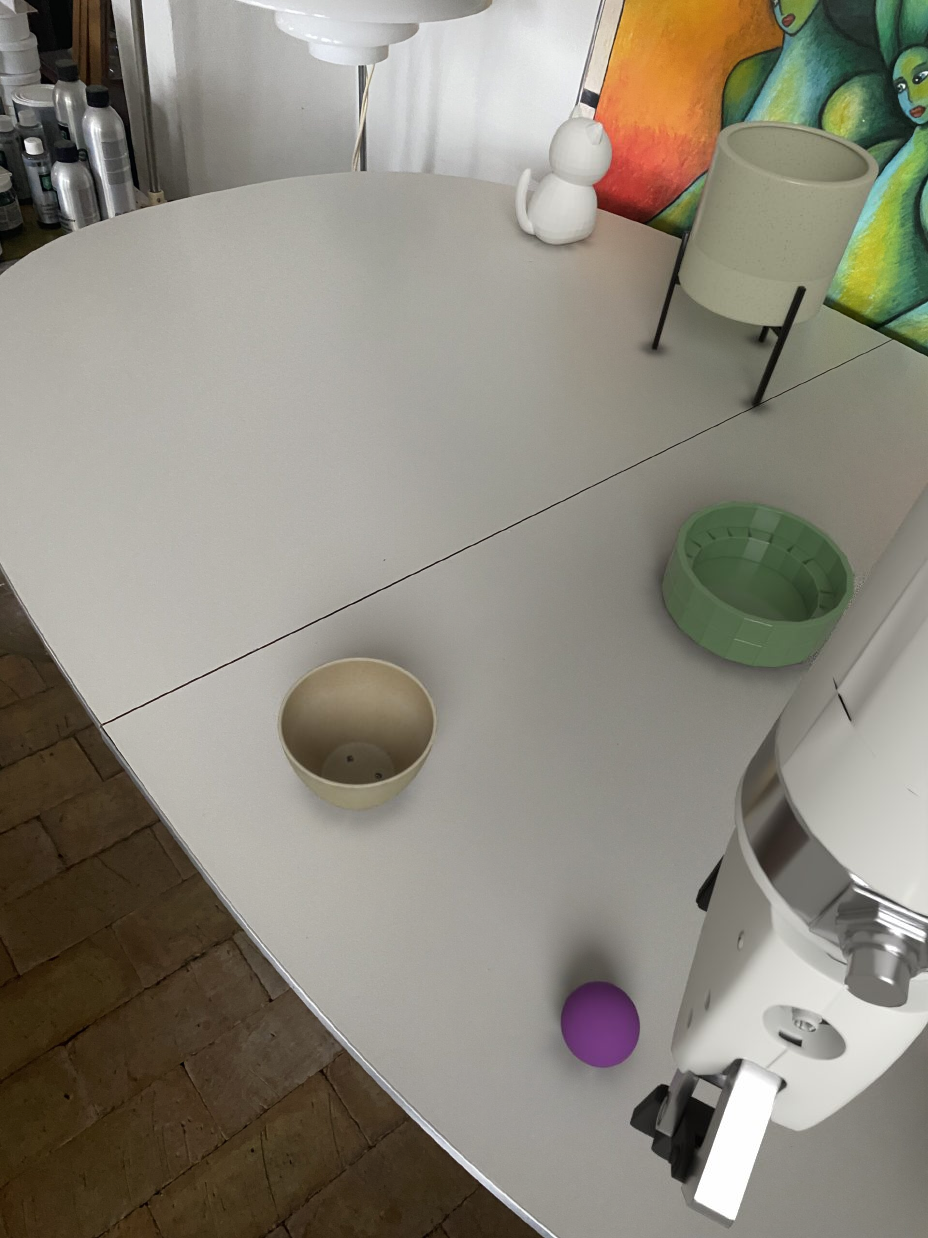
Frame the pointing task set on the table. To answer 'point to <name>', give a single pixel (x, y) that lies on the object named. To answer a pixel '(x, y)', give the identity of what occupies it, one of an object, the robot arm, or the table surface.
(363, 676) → the flower pot
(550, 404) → the table surface
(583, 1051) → the ball
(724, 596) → the bowl
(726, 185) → the planter
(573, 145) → the cat figurine
